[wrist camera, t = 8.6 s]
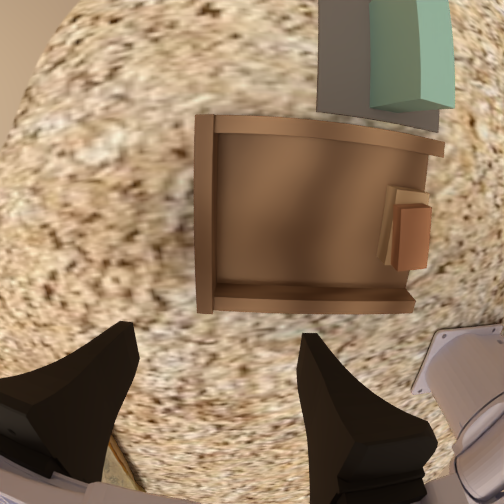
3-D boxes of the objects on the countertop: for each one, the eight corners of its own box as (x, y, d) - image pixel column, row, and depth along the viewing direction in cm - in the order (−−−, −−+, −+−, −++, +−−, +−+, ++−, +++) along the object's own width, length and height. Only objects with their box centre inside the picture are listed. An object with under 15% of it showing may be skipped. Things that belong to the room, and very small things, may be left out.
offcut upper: (422, 203, 18) (431, 207, 17) (418, 261, 19) (426, 268, 18) (393, 204, 18) (401, 209, 17) (390, 264, 19) (397, 271, 18)
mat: (434, 16, 15) (436, 15, 14) (436, 132, 18) (438, 132, 18) (318, -13, 15) (319, -15, 14) (316, 111, 18) (317, 111, 18)
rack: (424, 140, 18) (449, 142, 15) (398, 294, 23) (414, 316, 20) (205, 117, 18) (194, 114, 15) (204, 289, 23) (197, 313, 20)
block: (395, 10, 15) (443, -26, 8) (396, 112, 18) (454, 108, 11) (368, 3, 15) (410, -39, 8) (369, 107, 18) (420, 98, 11)
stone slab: (91, 501, 37) (18, 408, 25) (97, 485, 41) (32, 386, 29) (153, 519, 37) (104, 440, 25) (157, 501, 41) (115, 412, 29)
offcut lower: (418, 189, 19) (429, 193, 17) (406, 257, 21) (416, 265, 19) (387, 184, 19) (397, 189, 17) (376, 256, 21) (384, 265, 19)
